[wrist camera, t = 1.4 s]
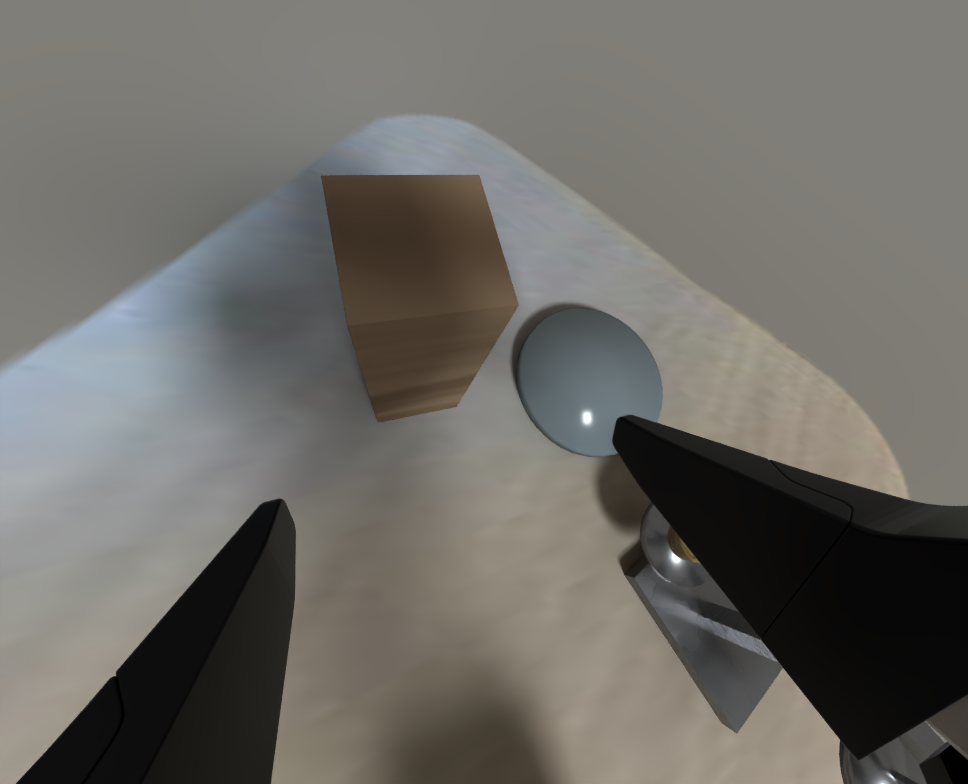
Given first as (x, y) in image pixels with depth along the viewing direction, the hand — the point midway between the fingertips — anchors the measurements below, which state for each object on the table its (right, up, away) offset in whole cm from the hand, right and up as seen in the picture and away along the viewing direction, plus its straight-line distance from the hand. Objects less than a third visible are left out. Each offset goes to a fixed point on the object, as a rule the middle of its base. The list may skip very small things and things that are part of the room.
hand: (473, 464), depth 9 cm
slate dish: (+8, +3, +16) cm, 18 cm away
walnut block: (-5, +3, +13) cm, 15 cm away
